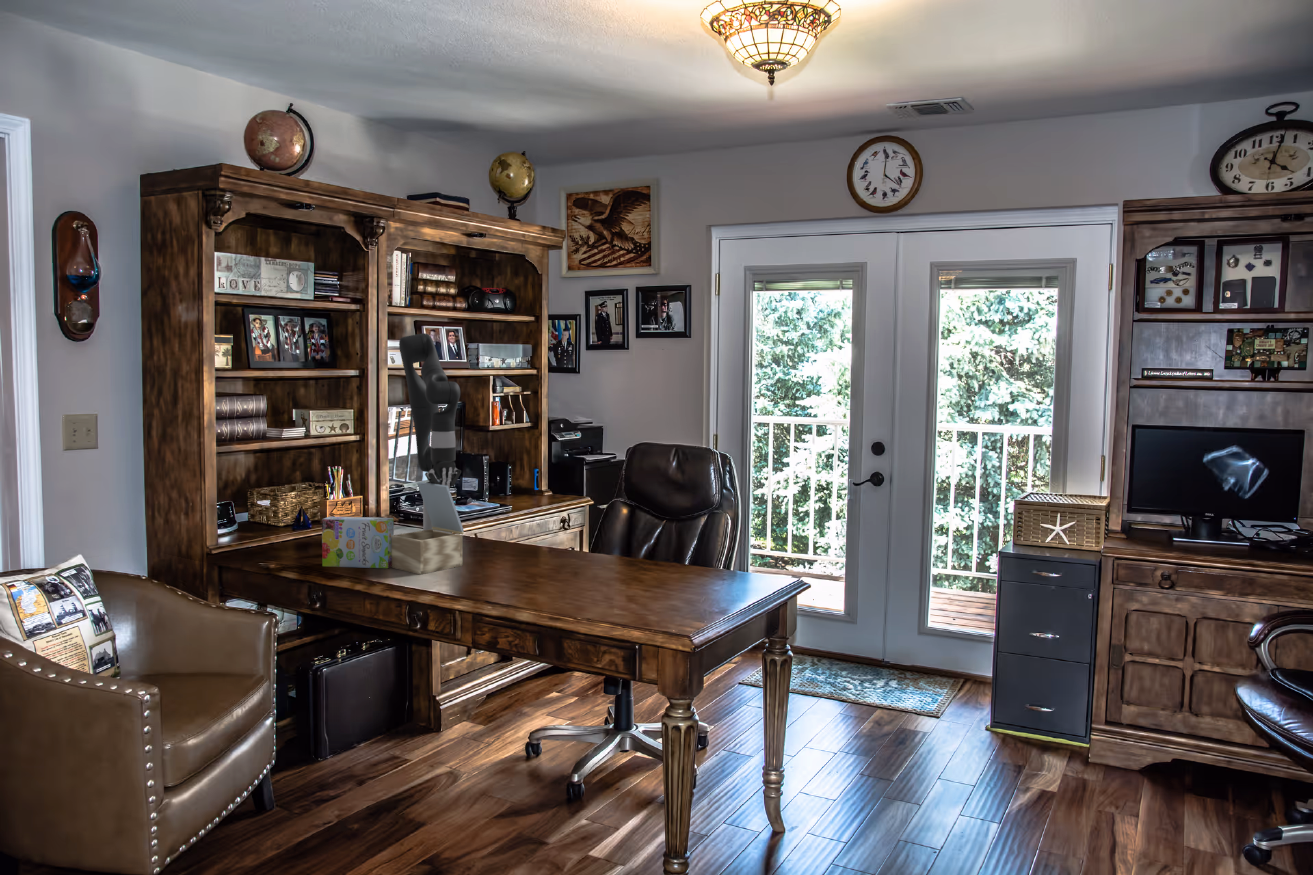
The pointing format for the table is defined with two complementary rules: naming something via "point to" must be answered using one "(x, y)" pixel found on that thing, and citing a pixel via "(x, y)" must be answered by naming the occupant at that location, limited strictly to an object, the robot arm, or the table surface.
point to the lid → (440, 507)
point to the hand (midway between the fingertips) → (443, 500)
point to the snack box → (357, 542)
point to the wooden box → (426, 551)
